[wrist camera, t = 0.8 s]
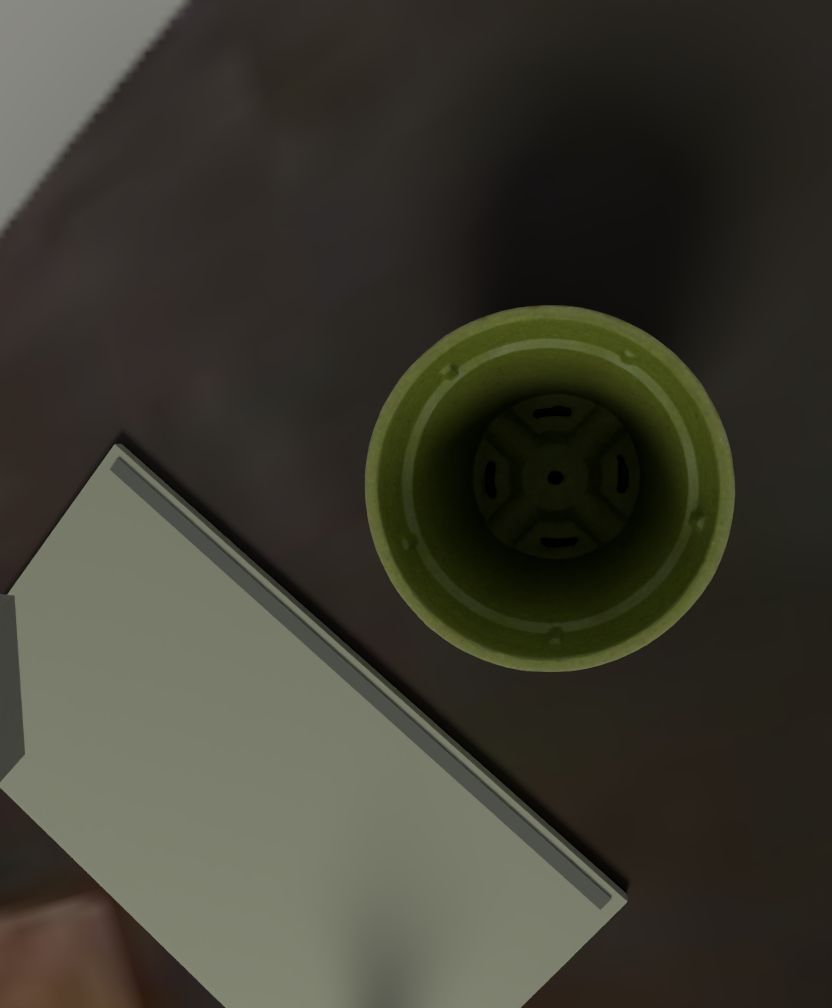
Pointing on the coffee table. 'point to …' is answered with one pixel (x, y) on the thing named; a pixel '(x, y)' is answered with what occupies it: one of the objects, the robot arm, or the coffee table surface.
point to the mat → (270, 780)
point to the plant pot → (549, 488)
